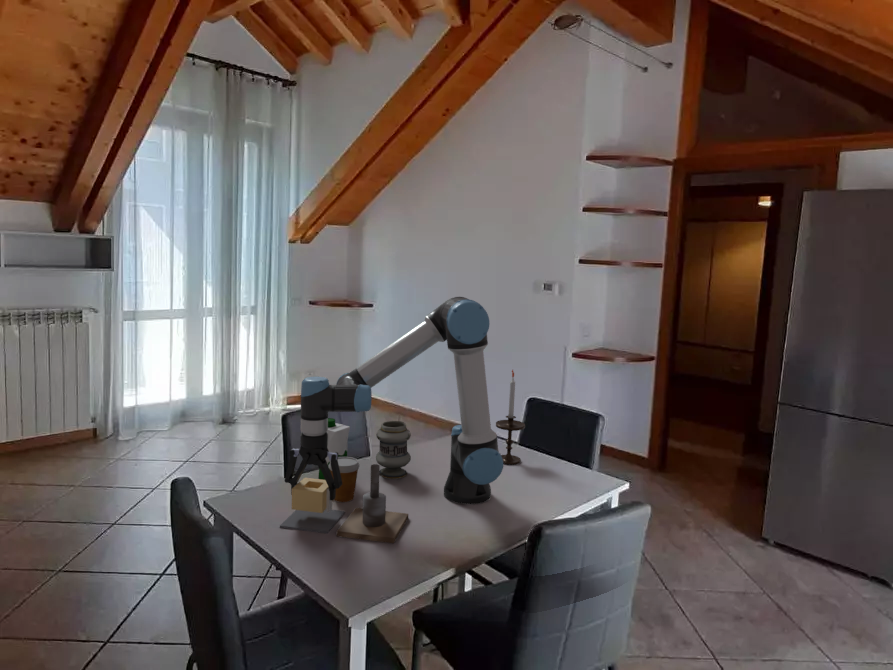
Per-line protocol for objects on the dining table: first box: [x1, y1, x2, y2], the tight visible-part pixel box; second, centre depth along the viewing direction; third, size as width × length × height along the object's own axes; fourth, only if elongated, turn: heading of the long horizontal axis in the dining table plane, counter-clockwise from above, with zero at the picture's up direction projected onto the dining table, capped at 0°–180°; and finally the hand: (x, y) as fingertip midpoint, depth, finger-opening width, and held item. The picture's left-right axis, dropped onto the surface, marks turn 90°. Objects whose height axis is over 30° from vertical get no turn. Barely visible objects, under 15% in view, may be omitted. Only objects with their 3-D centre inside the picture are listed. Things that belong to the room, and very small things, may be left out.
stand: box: [336, 463, 409, 544], centre depth 178 cm, size 16×16×18 cm
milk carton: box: [317, 417, 351, 480], centre depth 213 cm, size 9×9×20 cm
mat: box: [279, 508, 346, 534], centre depth 182 cm, size 14×14×1 cm
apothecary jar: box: [375, 420, 412, 480], centre depth 220 cm, size 12×12×18 cm
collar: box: [291, 477, 335, 513], centre depth 181 cm, size 9×9×6 cm
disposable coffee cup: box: [329, 456, 360, 503], centre depth 197 cm, size 10×10×12 cm
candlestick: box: [495, 369, 526, 466], centre depth 236 cm, size 11×11×35 cm
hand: (313, 508), depth 182 cm, fingers closed on collar, 9 cm apart
